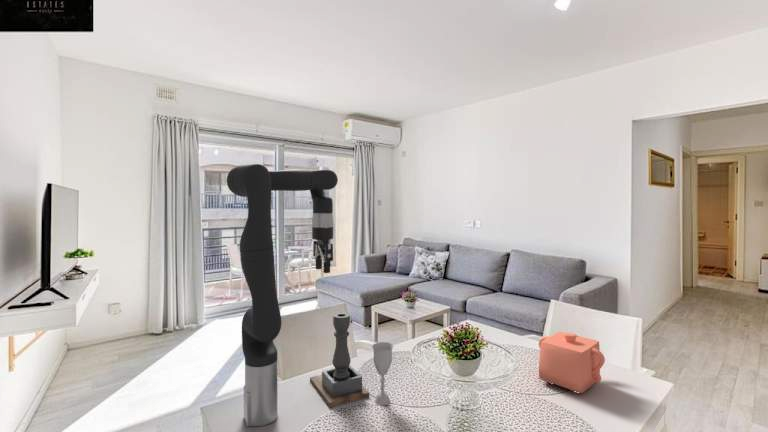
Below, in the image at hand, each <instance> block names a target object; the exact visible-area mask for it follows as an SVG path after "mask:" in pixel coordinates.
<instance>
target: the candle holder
mask: <svg viewBox="0 0 768 432" xmlns="http://www.w3.org/2000/svg"><path fill="white" fill-rule="evenodd" d="M332 326H333V328H334V330H335V331H334V333H333V335H334V337H335V348H334V353H333V357H332V365H333V367H334V368H335V370H336V371H335V372H334V374H333V380H334V381H339V380H344V379H348V378H350V377H349V376H350V373H349V372H348V367H349V365H350V366H351V362H352V361H351V357H350V352H349V346H348V337H349V336H350V332H349V331H348V330H349V328H350V326H351V315H350V313H346V312H338V313H334V314H333V316H332Z"/></svg>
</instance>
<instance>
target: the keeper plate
mask: <svg viewBox="0 0 768 432" xmlns="http://www.w3.org/2000/svg"><path fill="white" fill-rule="evenodd" d="M309 382H310V384H311V385H312V386H313V388H314V389H315V390H316V392H317V393H318V394H319V396H320V398H322V399H323V401H324V402H325V403H326V405H327V406H328V408H333V407H336V406H341V405H344V404H348V403H351V402H356V401H360V400H363V399H367V398H370V392H369V391H368V390H367V389H366V388H365V387H364V386H363V385H362V392H358V393H354V394H350V395H346V396H342V397H338V398H334V399H333V398H332V397H331V396H330V395H329V393H328V392H327V391H326V390H325V388H324V387H323V386H322V374H320V375H315V376H310V377H309Z"/></svg>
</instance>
